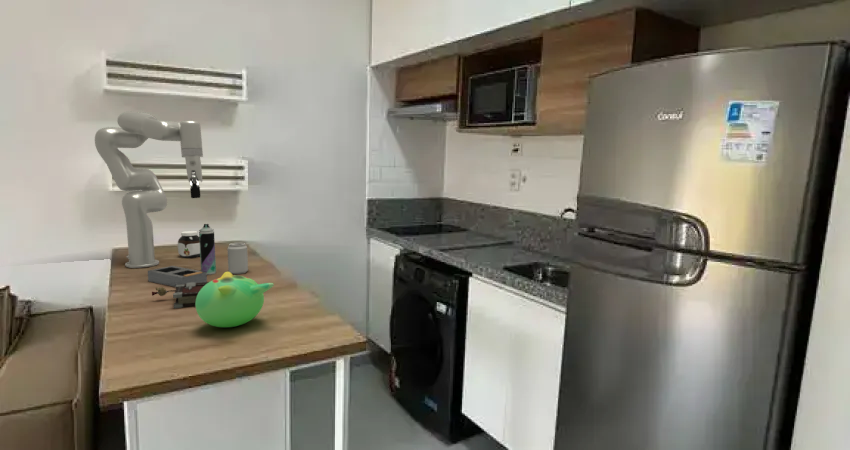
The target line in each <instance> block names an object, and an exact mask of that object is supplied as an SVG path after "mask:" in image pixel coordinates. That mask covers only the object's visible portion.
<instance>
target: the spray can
mask: <svg viewBox="0 0 850 450" xmlns="http://www.w3.org/2000/svg"><path fill="white" fill-rule="evenodd" d="M198 231H199V232H198V236H199V240H200V256H199V257H200V271H204V272H207V275H214V274H217V267H216V265H217V263H216V241H215V230H214V228H212V227H211V226H210V224H209V223H204V224H203V227H202V228H201V229H199V230H198Z"/></svg>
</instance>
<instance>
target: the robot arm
mask: <svg viewBox="0 0 850 450" xmlns="http://www.w3.org/2000/svg"><path fill="white" fill-rule="evenodd" d="M116 121H117V125H118V126H119V127H116V126H115V127H114V126H110V127H109V126H107V127H103V128H102V127H101V128H100V129H98V130H97V131H96V133H95V135H94V146H95V149H96V151H97V153H98V154H99V156H100V158H101V159H102V161H104V163H105V164H106V166H107V168H108V170H109V173H110V174H111V177H112V179H113V180H114V182H115V184H116V186H117V188H118V189H119V190H120V191H124V192H127V193H126V194H124V195H123V196H122V197H121V207H122V209H123V212H124V217H125V223H126V224H125V226H126V236H127V248H128V249H127V251H128V253H127V254H128V255H126V259H128V261H127V262H125V264H124V266H125V267H126V268H131V269H138V268H139V269H140V268H149V267H154V266H157V265H160V260H158V259H155V256H156V255H155V243H154V242H155V241H154V240H155V239H154V228H153V227H154V226H153V222H152V219H151V218H150V216H149V215H148V213H156V212H157V213H158V212H162V211H163V210H165V209H166V208H167V207H168V199H167V195H166V193H165V191H164V189H163V187H162V185H161V183H160V181H159V179H158V177H157V175H156V174H155V173H154V171H152V170H151V169H149V168H144V167H143V168H135V167H134V166H133V164H132V162H131V161H130V158H129V157H128V156H127V155H126V154H125V153H124V152H122V151H121V150H119V149H137V148H140V147H141V146H142V145H143V144H144V143H145V142H146V141H147V140H148V139H151V140H155V141H162V142H163V141H165V142H180V143H179V144H180V152H181V158H184V159H185V169H186V176H187V181H188V183H190V188H189V189H190V198H191V199H201V187H200V183H202V182H203V171H202V170H203V169H202V160H201V158H204V154H203V153H204V152H203V142H202V141H203V139H202V129H201V124H200V122H199V121H197V120H183V121H170V120H159V119H158V118H157V117H155V116H153V115H152V114H151V113H148V112H141V111H139V112H138V111H124V112H122V113H121V114H119V116H118V117H117V120H116ZM199 182H200V183H199Z"/></svg>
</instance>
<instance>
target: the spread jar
mask: <svg viewBox="0 0 850 450" xmlns="http://www.w3.org/2000/svg"><path fill="white" fill-rule="evenodd" d="M180 233H181V234H180V235H181V237H179V239H178V240H177V251H178V255H179V256H180V257H181V258H183V259H195V258H198V257H200V240H199V232H198V231H196V230H185V231H181V232H180Z"/></svg>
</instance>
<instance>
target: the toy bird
mask: <svg viewBox="0 0 850 450" xmlns="http://www.w3.org/2000/svg"><path fill="white" fill-rule="evenodd" d="M208 282H209V283H207V284H206V285H205V286H204V287H203V288H202V289H201V290H200V291H199V293H198V295H197V297H196V302H195V306H194V307H195V310H196V313H197V315H198V317H199V318H200V319H201V320H202V321H203V322H204V323H205V324H207V325H210V326H212V327H215V328H216V327H217V328H233V327H238V326H242V325H244V324H247V323H248V322H250V321H251V320H253V319H254V318H255V317H257V316H258V315H259V314H260V312H261V310H262V308H263V305H264V301H265V297H264V296H265V295H264V293H265V292H267V291H268V290H270V289H272V288H273V287H274V286H275V284H274V283H273V282H264V283H257V282H256V280H254V279H252V278H250V277H248V276H245V275H244V276H243V275H237V274H232V273H230V272H229V271H225V272H223V274H222V275H221V277H217V278H215V279H212V280H210V281H208Z"/></svg>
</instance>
